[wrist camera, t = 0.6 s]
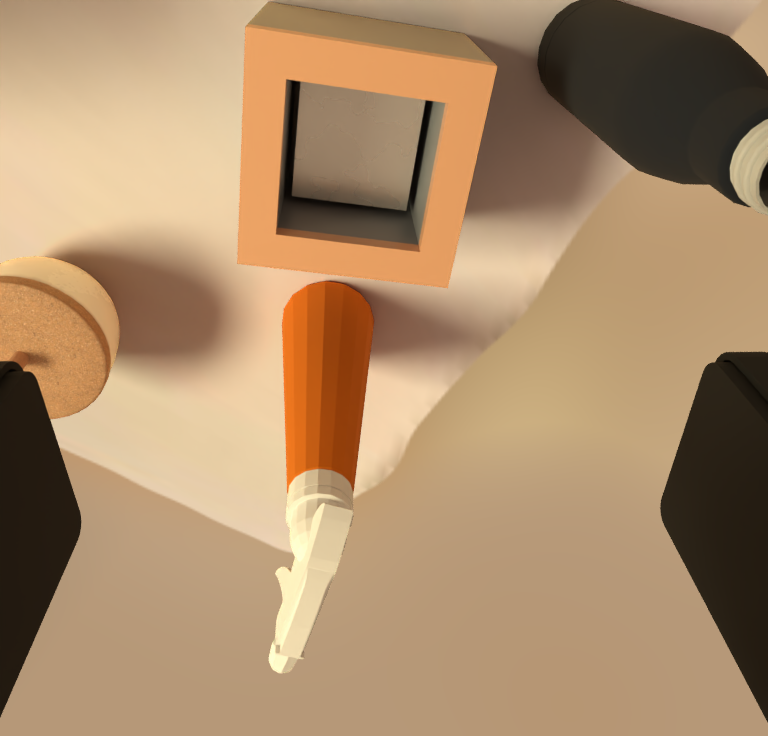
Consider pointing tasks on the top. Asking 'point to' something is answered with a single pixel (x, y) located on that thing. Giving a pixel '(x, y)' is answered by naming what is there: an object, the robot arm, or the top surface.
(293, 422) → the spray bottle
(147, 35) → the top surface
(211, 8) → the top surface
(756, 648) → the robot arm
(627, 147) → the black water bottle
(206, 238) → the top surface
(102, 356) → the lidded jar
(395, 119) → the plunger plate
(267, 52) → the sleeve
